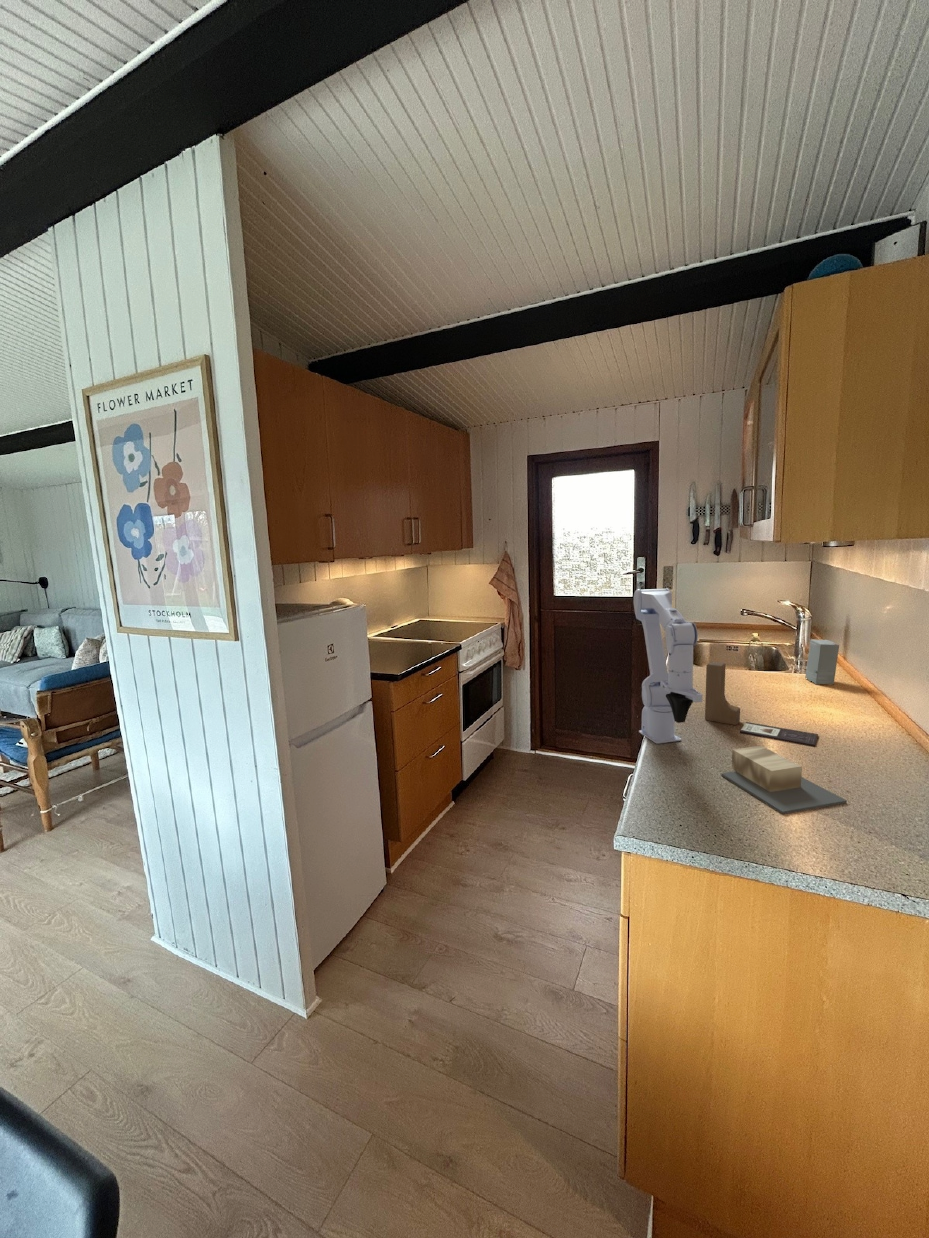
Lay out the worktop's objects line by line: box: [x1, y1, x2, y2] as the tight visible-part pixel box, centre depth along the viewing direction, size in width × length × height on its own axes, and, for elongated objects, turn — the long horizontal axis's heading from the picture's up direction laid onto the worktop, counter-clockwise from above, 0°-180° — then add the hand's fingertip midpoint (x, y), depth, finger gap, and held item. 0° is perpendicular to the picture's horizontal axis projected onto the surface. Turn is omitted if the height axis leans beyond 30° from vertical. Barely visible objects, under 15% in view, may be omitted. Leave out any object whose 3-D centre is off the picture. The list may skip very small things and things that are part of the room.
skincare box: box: [805, 638, 840, 685], centre depth 189 cm, size 8×7×16 cm
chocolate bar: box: [739, 721, 819, 748], centre depth 144 cm, size 9×1×18 cm
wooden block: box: [704, 661, 741, 726], centre depth 154 cm, size 9×4×18 cm, turn 49°
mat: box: [720, 770, 848, 815], centre depth 114 cm, size 18×16×1 cm
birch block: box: [731, 745, 803, 792], centre depth 117 cm, size 5×8×12 cm
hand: (679, 721), depth 129 cm, fingers closed
